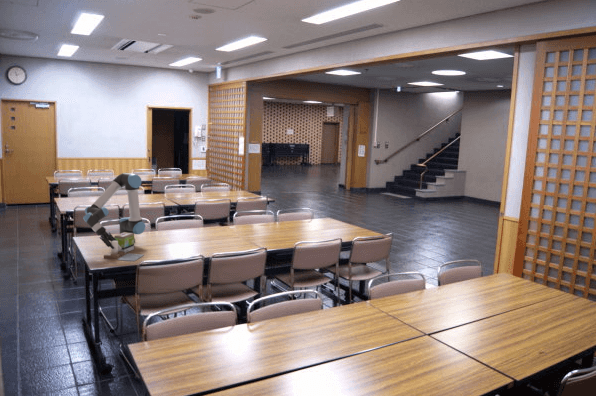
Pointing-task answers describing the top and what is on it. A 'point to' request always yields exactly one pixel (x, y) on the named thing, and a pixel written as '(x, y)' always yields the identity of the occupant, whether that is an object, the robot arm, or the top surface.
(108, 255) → the walnut deck
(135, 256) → the slate mat
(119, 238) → the tea box
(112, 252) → the ceramic canister
